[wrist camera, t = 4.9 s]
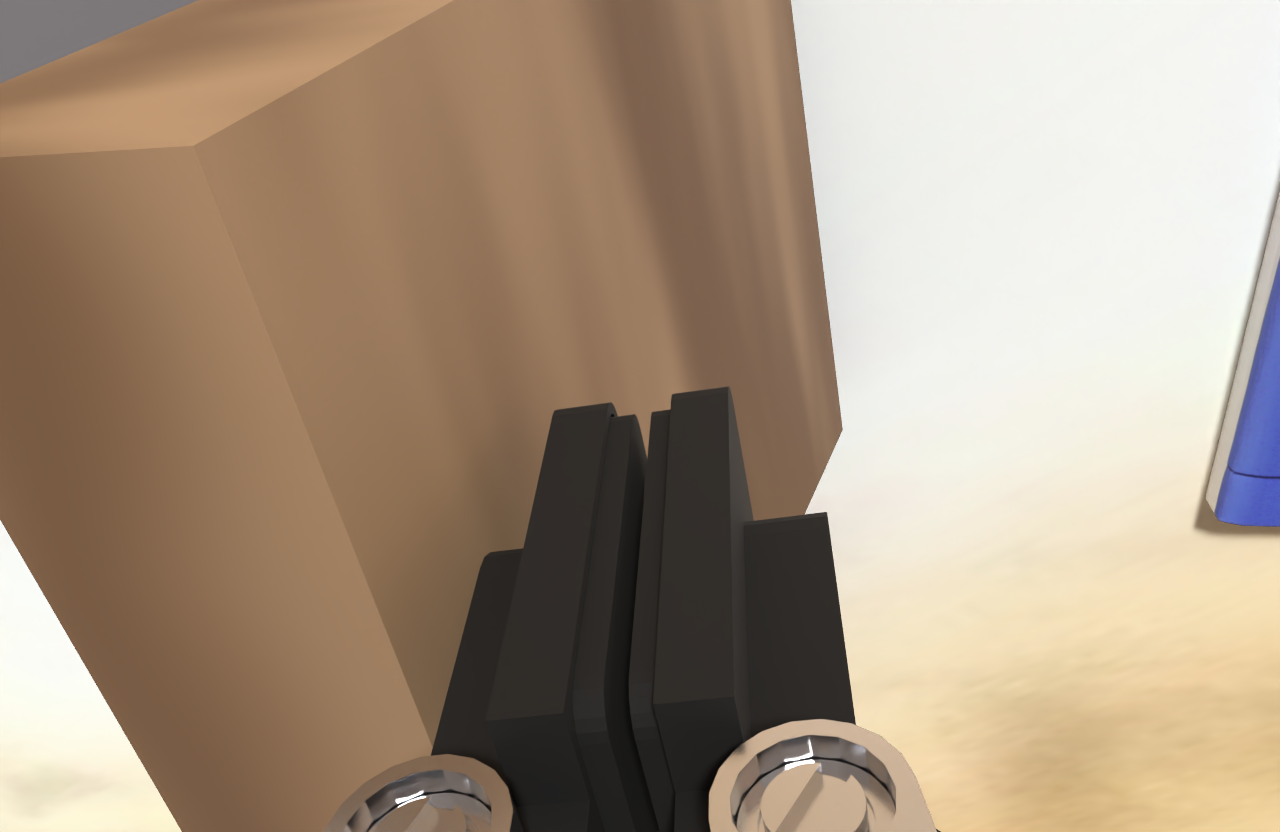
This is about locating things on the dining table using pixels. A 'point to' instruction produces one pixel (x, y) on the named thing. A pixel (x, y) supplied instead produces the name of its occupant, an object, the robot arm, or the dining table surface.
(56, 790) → the dining table surface
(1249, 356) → the hard drive
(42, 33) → the mat
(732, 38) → the slab
